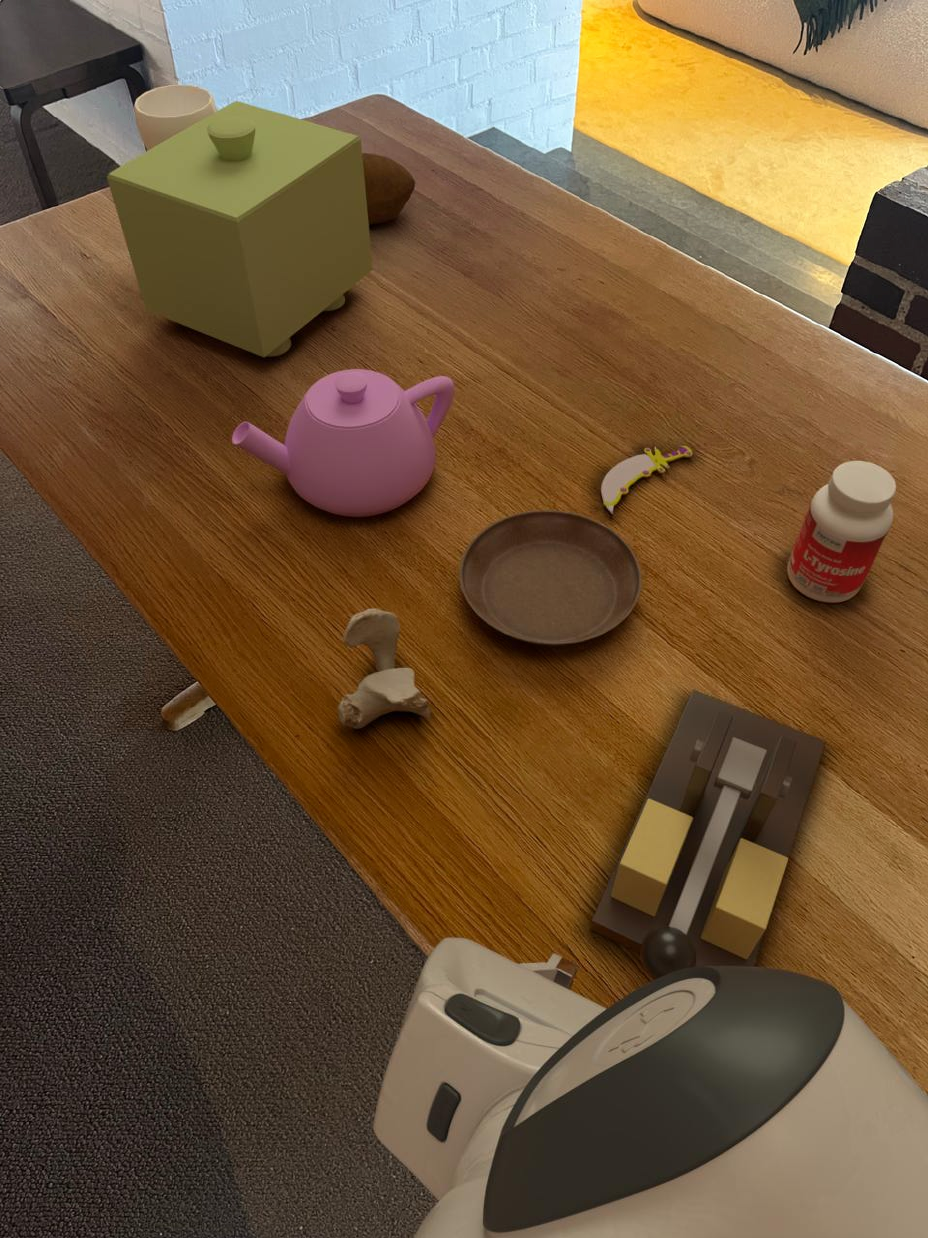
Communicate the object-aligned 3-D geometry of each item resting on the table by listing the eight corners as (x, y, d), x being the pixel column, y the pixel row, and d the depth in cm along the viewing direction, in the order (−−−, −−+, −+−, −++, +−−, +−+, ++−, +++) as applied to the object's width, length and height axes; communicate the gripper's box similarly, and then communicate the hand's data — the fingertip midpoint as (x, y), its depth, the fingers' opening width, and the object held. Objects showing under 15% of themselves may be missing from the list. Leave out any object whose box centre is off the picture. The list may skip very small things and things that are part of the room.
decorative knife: (577, 486, 88) (612, 516, 85) (577, 482, 88) (613, 512, 85) (670, 437, 92) (707, 464, 89) (671, 433, 92) (708, 460, 89)
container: (268, 377, 99) (230, 187, 83) (151, 329, 104) (95, 143, 89) (374, 289, 109) (358, 105, 93) (263, 249, 114) (230, 69, 99)
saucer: (462, 528, 85) (462, 506, 83) (630, 531, 84) (634, 509, 82) (456, 662, 75) (456, 641, 73) (644, 666, 75) (649, 645, 73)
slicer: (739, 1001, 59) (783, 936, 51) (589, 929, 62) (607, 856, 54) (820, 751, 70) (867, 663, 62) (689, 700, 73) (717, 610, 65)
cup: (181, 218, 119) (147, 80, 107) (252, 222, 118) (226, 84, 106) (157, 256, 114) (118, 116, 101) (230, 262, 113) (200, 120, 100)
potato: (309, 213, 120) (300, 151, 114) (401, 193, 123) (398, 131, 117) (330, 245, 115) (322, 181, 109) (425, 223, 118) (423, 160, 112)
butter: (769, 891, 62) (789, 857, 58) (746, 960, 59) (765, 929, 55) (637, 833, 64) (648, 797, 61) (610, 897, 62) (619, 863, 58)
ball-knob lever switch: (683, 994, 56) (686, 993, 53) (631, 969, 57) (632, 967, 54) (769, 764, 60) (777, 751, 57) (720, 744, 61) (725, 731, 58)
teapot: (234, 453, 91) (210, 359, 83) (433, 409, 95) (429, 315, 87) (262, 553, 83) (238, 460, 75) (479, 500, 87) (480, 405, 79)
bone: (414, 767, 68) (341, 664, 63) (349, 765, 72) (276, 668, 67) (465, 682, 73) (402, 581, 68) (402, 685, 77) (338, 590, 72)
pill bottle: (779, 593, 80) (816, 496, 71) (792, 543, 83) (828, 445, 75) (856, 614, 78) (903, 517, 70) (865, 562, 82) (911, 464, 73)
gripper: (911, 1257, 32) (879, 1059, 45) (384, 976, 38) (489, 873, 51) (840, 1409, 33) (828, 1173, 46) (337, 1111, 39) (452, 977, 52)
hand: (647, 1014), depth 49 cm, fingers open, 8 cm apart
